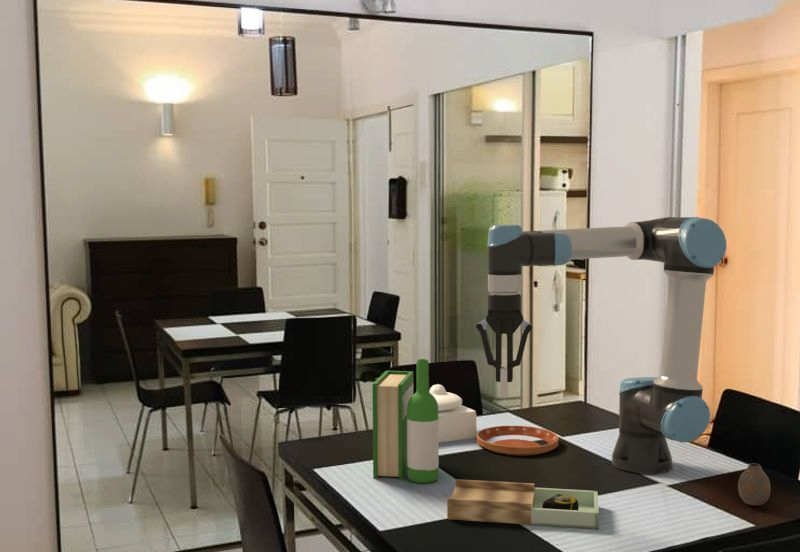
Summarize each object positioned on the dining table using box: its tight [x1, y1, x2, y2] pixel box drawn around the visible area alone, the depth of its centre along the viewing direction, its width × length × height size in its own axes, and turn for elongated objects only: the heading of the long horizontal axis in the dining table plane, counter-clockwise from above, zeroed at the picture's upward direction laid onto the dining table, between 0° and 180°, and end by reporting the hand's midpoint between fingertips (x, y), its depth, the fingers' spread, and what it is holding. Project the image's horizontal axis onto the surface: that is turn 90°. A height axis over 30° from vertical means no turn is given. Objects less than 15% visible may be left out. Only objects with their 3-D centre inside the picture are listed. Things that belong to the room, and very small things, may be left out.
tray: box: [531, 487, 600, 530], centre depth 193 cm, size 14×15×4 cm
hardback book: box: [372, 370, 414, 481], centre depth 227 cm, size 18×7×24 cm, turn 170°
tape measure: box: [542, 494, 579, 511], centre depth 192 cm, size 7×7×4 cm
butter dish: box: [429, 383, 477, 444], centre depth 259 cm, size 18×18×16 cm
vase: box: [737, 462, 771, 506], centre depth 201 cm, size 7×7×9 cm
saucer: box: [476, 425, 560, 456], centre depth 248 cm, size 23×23×4 cm
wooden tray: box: [446, 478, 535, 526], centre depth 196 cm, size 18×14×4 cm
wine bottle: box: [406, 358, 440, 484], centre depth 218 cm, size 8×8×30 cm
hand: (504, 395), depth 201 cm, fingers closed
